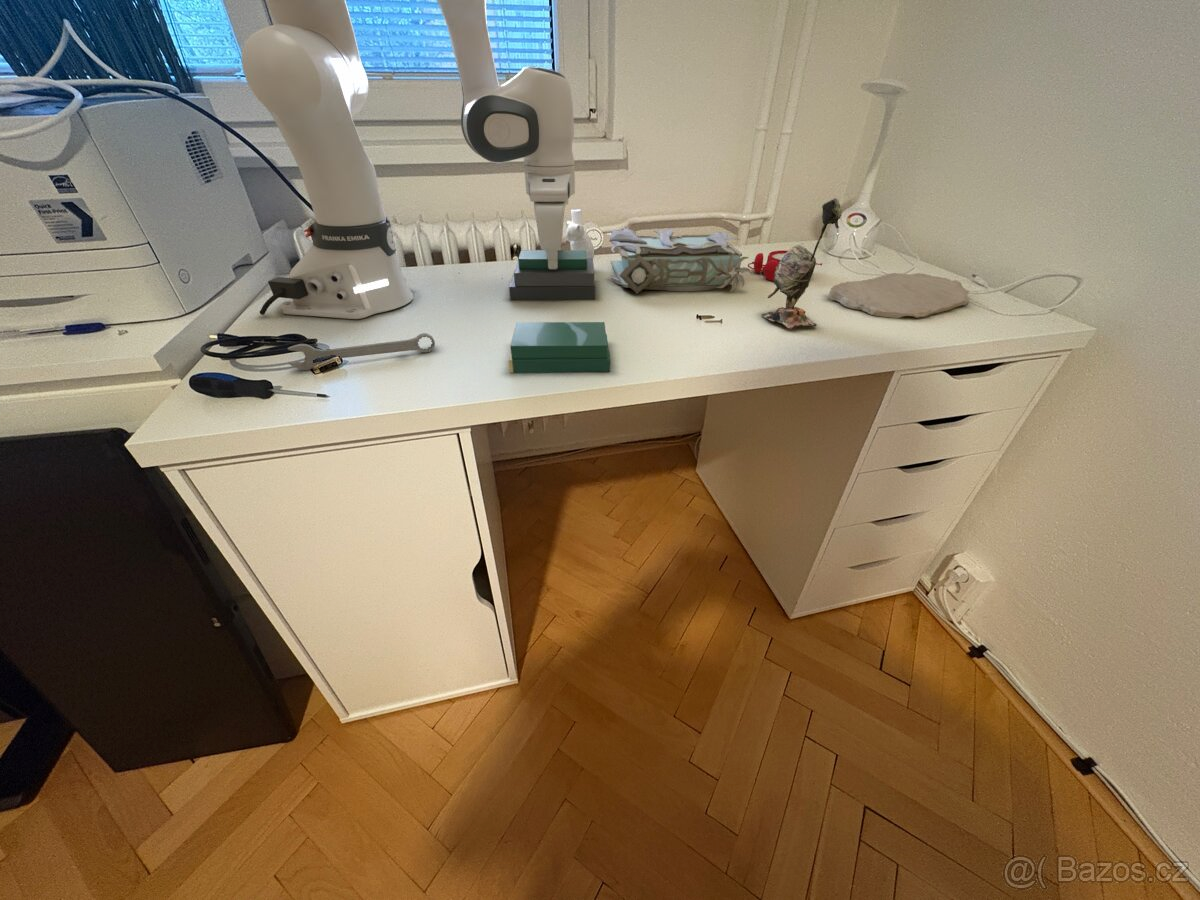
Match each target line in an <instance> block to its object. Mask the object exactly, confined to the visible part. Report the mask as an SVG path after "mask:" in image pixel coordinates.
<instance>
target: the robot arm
mask: <svg viewBox="0 0 1200 900" xmlns="http://www.w3.org/2000/svg"><path fill="white" fill-rule="evenodd" d="M436 1H437V4H438V7H439V9H440V11H441V14H442V17H443V19H444V22H445V25H446V29H447V31H448V35H449V40H450V43H451V44H450V45H451V47H452V52H453V56H454V60H455V64H456V68H457V72H458V75H459V80H460V84H461V85H460V86H461V91H462V103H461V112H460V113H461V114H460V128H461V132H462V136H463V138H464V141H465V142H466V144H467V145H468V146H469V148H470V149H471V150H472V151H473V152H474V154H477V155H478V156H480V157H481V158H482V159H484V160H486V161H487V162H489V163H493V164H505V163H508V162H511V161H514V160H519V159H523V163H524V181H525V193H526V195H528V196H529V202H531V203H533V210H534V217H535V223H536V225H535V226H536V230H537V238H538V242H539V243H538V244H539V247H540V250H546V253H547V258H548V268H549V269H557V268H558V250H562V244H563V232H564V219H565V211H566V207H567V205H569V199H570V198H571V196H574V195H575V194H576V173H575V172H576V170H575V169H576V168H575V166H576V165H575V163H576V162H575V158H574V153H573V141H574V137H575V119H574V103H573V94H572V90H571V86H570V83H569V81H568V79H567V78H566V76H564V74H562V73H561V72H559V71H556V70H554V69H550V68H545V67H541V66H535V65H527V66H524V67H523V68H522V69H521V70H520V71H519V72H518V73H517V74H516V75H515V76H514V77H512V78H511V79H509V80H508V81H506V82H505V83H503V84H501V85H500V83H499V79H498V74H497V69H496V68H497V67H496V63H495V59H494V54H493V48H492V44H491V38H490V34H489V29H488V23H487V22H488V20H487V0H436ZM265 2H266V6H267V8H268V10H269V13H270V15H271V18H272V21H273V23H274V24H271V25H268V26H266V27H262V28H261V29H258V30H257V31H255V32H254V33H252V34H251V35H250V36H249V37H248V38H247V39H246V41H245V43H244V45H243V47H242V51H241V67H242V72H243V74H244V75H243V76H244V78H245V80H246V83H247V85H248V87H249V88H250V90H251V92H252V93H253V95H254V96H255V98H256V99H257V100H258V102H260V103H261V104H262V106H263V107H265V108H266V110H267V111H268V112H269V114H270V115H271V118H273V120H274V122H275V124H276V126H277V128H278V129H279V132H280V133H281V135H282V138H283V139H284V141H285V143H286V145H287V147H288V149H289V150H290V152H291V154H292V157H293V158H294V161H295V163H296V165H297V167H298V169H299V172H300V175H301V179H302V181H303V183H304V186H305V190H306V193H307V196H308V199H309V202H310V205H311V209H312V211H313V215H314V218H315V220H314V222H313V223H312V224H311V225H309V226H308V227H307V228H306V229H304V230H303V233H306V234H305V236H304V237H305V239H307V238H310V239H311V240H312V246H311V247H310V249H308V251H307V252H306V253H305V254H304V255H303V256H302V257H301V258H300V259H299V261H297V262H296V264H295V265H294V266H293V267H292V268H291V270H290V271H289V274H288V277H286V276H285V277H284V276H277V277H274V278H272V279H270V280H268V281H267V283H268V286H269V288H270V290H271V293H272V296H270V297H269V298H268V299H267V300H265V302H264V304H263V305H262V307H261V308H260V310H259V314H260V315H261V316H262V315H263V316H264V315H265V314H266V313H267V310H268V309H269V307H270V306H271V305H272V304H273V303H275V301H277V299H279V298H281V299H282V298H283V299H284V300H283V301H282V303H281V305H280V307H281V311H282V313H283V314H285V315H296V316H307V317H320V318H321V317H322V318H335V319H347V320H361V319H365V318H367V317H370V316H373V315H376V314H381V313H384V312H385V313H386V312H388V311H393V310H396V309H399V308H402V307H403V306H406V305H408V304H409V303H410V302H412V300H413V299H414V294H413V291H412V290H411V288H410V285H409V284H408V281H407V280H406V278H405V275H404V273H403V270H402V268H401V264H400V262H399V259H398V255H397V253H396V251H397V245H396V239H395V234H394V230H393V228H392V225H391V222H390V221H391V220H390V218H389V217H388V216H387V215H386V211H385V206H384V202H383V197H382V194H381V193H382V192H381V190H380V189H381V188H380V184H379V180H378V176H377V172H376V168H375V166H374V163H373V161H372V160H371V159H370V157H369V155H368V153H367V151H366V149H365V147H364V145H363V142H362V140H361V137H360V135H359V132H358V130H357V127H356V125H355V123H354V122H355V121H354V119H353V118H354V117H356V116H357V115H358V114H359V113H360V112H361V110H362V109H363V108H364V106H365V105H366V102H367V100H368V97H369V91H370V90H369V89H370V87H369V85H370V84H369V80H368V75H367V72H366V70H365V68H364V66H363V63H362V60H361V56H360V51H359V46H358V42H357V38H356V34H355V30H354V26H353V22H352V19H351V14H350V11H349V7H348V4H347V0H265Z"/></svg>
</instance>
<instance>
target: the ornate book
mask: <svg viewBox="0 0 1200 900" xmlns="http://www.w3.org/2000/svg"><path fill="white" fill-rule="evenodd" d="M664 230H665V231H663V230H658V229H655V230H653V232H654V233H656V234H658V236H657V235H652V234H641V235H640V234H639V235H637V231H635V230H632V229H629V228H627V227H625V226H623V227H622V229H620V230H619V229H613V230H612V231H611V232H606V235H608V236H609V237H610V238H609V242H610V243H611V244H612V246H611V248H610V251H611V252H612V253H613V254H615V248H616V249H617V251H618V253H619V255H620V256H621V258H620V260H610V265H611V267H612V268H613V271H614V273H615V276H614V275H611V276H610V277H611V278H610V279H611V280H612V281H611V282H613V283H614V284H616V285H618V286H621V287H622V288H625V289H626V288H627V289H629V288H630V290H632V291H633V292H634V293H636V294H637V295H638V294H639V293H641V292H642V291H643V290H650V291H651V290H652V291H653V290H654V291H655V290H658V291H672V292H693V291H695V292H698V291H708V290H713V289H724V288H725V287H727V286H731V289H730V290H729V292H728V293H731V292H733V291H734V290H735V288H736V285H737V283H738V282H739V281H740V282H741V284H742V286H741V287H742V288H744V286H745V283H746V279H745V278H744V276H743V275H742V274H744V273H745V272H748V273H749V274H750V275H753V274H752V270H751V268H749V267H744V266H743V267H741V266H742V262H744V261H745V260H747V259H750V258H749V256H743V253H742V252H741V251H740V250H739V249H737V248H736V247H734V246H733V245H732V244H730V243H729V242H728V241H727V240H739V241H740V238H738V237H733V236H732V237H728V235H729V234H730V233H731V231H723V232H721V231H717V232H715V233H705V234H703V233H702V234H677V235H675V236H673V235H674V230H672V229H670V228H666V227H664Z"/></svg>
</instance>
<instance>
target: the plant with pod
mask: <svg viewBox="0 0 1200 900" xmlns="http://www.w3.org/2000/svg"><path fill="white" fill-rule="evenodd" d="M821 208H822V215H821V217H822V219H821V221H822V224H823V225H822V228H821V231H820V236H819V238H818V239H817V242H816V244H815V247H814V249H813V252H811V251H810V250H808V249H807V248H805V246H803V245H805V242H804V243H803V242H802V243H801V242H800V244H796V245H794V246H792V247H791V248H790V249H789V250H786V251H787V253H786V254H785V255H784V257H783V258H782V259H781V261H780V262H779V264H778V266H777V267H776V271H775V275H774V281H773V284H774V285H775V286H776V287H775V289H773V292H771V293H769V294H768V296H767V299H771V298H772V297H774V296H775V295H776V294H777V293H778V292H780V293H782V294H784V296H786V298H785V299H786V300H785V307H783V306H781V307H778V308H777V309H776V311H775V312H773V311H769V312H767V313H761V316H762V317H764V318H765V319H766V320H768V321H770V322H777V323H778V324H783V325H784V326H785V327H786V328H787V329H794V328H797V327H800V326H806V327H808V326H809V327H811V326H812V327H817V326H818V323H815V322H813V321H812V320H811V319H810V317H809V316H807V315H806V310H805V309H803V308H801V307H797V306H796V305H797V302H799V299H800V298H801V297H802V296H803V295H804V294H805V292H806V290H807V289H808V288H809V286H810V283H811V278H812V277H813V274H814V272H815V268H816V263H817V260H816V257H815V256H816V252H817V249H818V247H819V244H820V242H821V240H822V238H823V235H824V234H825V232H826V230H827V226H828V225H830V224H831V225H834V226H835V228H836V229H839V228H840V226H839V220H840V219H841V217H843V216H842V214H843V211H842V210H841V204H840V201H839V199H838V198H835V197H834V198H833V199H831V200H828V201H827V202H825V203H823V204H822V206H821Z"/></svg>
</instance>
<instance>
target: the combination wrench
mask: <svg viewBox="0 0 1200 900" xmlns="http://www.w3.org/2000/svg"><path fill="white" fill-rule="evenodd" d="M422 338H427V339H429V340H430V342H431V344H430V346H428V347H427V348H423V347H420V345H419V342H420V340H422ZM435 346H436V341H435V339H434V337H433V335H431V334H429V333H426V332H425V333H424V332H422V333H420V334H418V335H416V337H413V338H408V339H404V340H403V339H402V340H396V341H395V340H394V341H386V342H379V343H371V344H361V345H353V346H345V347H336V348H328V349H320V348H315V347H313V345H310V344H308V343H298V344H294V345H291V346H289V347H287V350H288V351H293V352H300V353H303V354H304V357H305V358H304V360H303V361H288V362H287V365H289V366H292V367H294V368H295V369H299V370H301V371H310V370H312V369H314V368H315V367H316V366H317V365H318V364H320V363H321V364H322V363H323V362H324V361H321V362H316V363H312V361H313V360H315V359H317V358H321V357H325V356H330V355H336V356H340V358H339V359H347V358H356V357H363V356H364V357H365V356H374V355H381V354H392V353H399V352H408V351H418V352H421V353H430V352H432V351H433V350H434V349H435Z"/></svg>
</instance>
